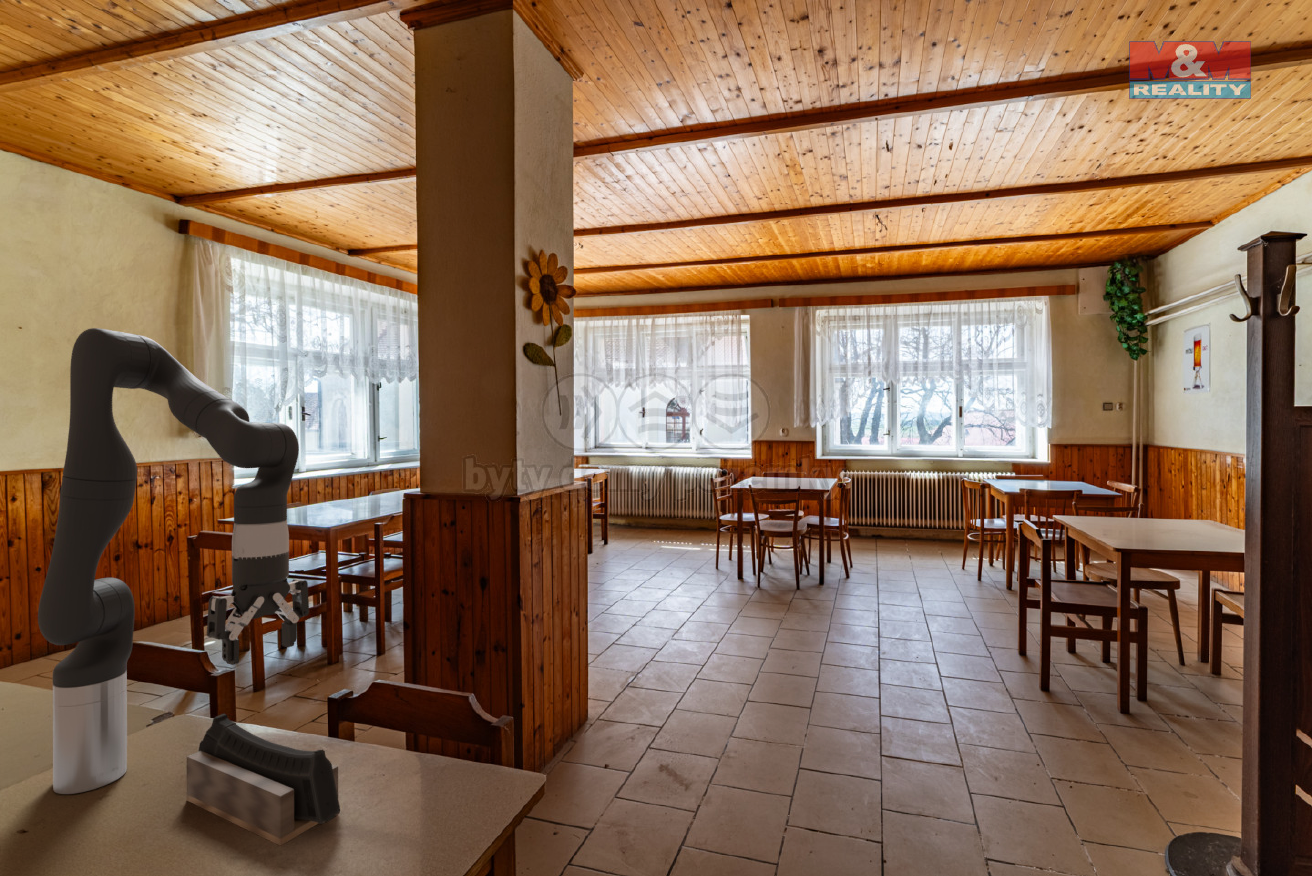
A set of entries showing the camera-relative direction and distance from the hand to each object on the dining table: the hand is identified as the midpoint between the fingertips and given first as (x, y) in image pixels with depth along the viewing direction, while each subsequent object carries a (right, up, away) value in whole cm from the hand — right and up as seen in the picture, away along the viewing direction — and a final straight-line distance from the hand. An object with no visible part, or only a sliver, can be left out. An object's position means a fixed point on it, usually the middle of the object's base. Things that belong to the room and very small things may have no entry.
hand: (260, 654), depth 98 cm
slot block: (0, -24, 0) cm, 24 cm away
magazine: (+1, -23, 0) cm, 23 cm away
